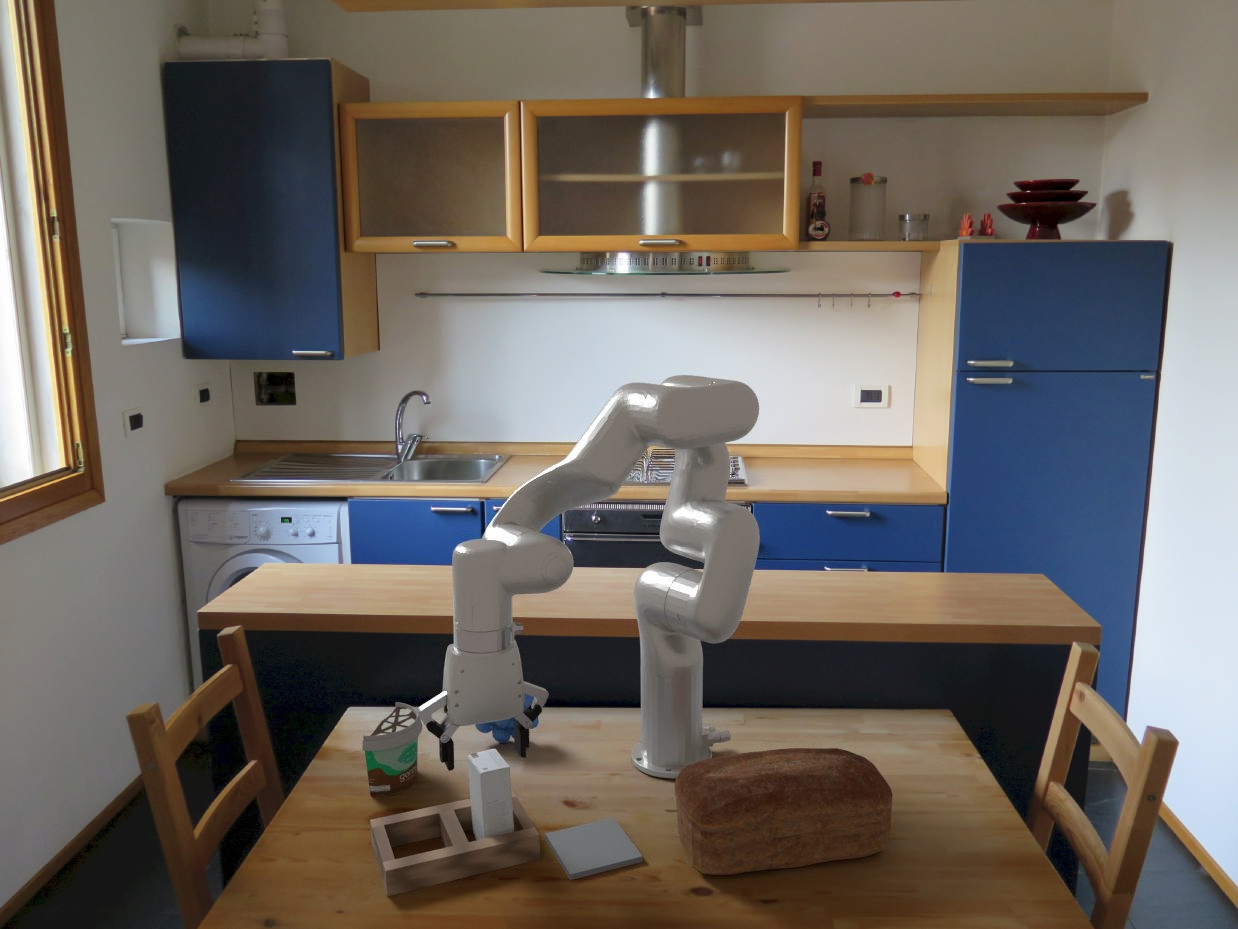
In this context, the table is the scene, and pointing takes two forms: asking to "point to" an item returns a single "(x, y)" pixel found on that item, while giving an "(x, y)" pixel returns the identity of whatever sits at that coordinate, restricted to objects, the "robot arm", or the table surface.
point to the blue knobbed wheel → (505, 725)
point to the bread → (781, 809)
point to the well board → (448, 846)
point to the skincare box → (490, 794)
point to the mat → (593, 848)
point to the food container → (393, 751)
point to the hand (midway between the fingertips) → (485, 759)
